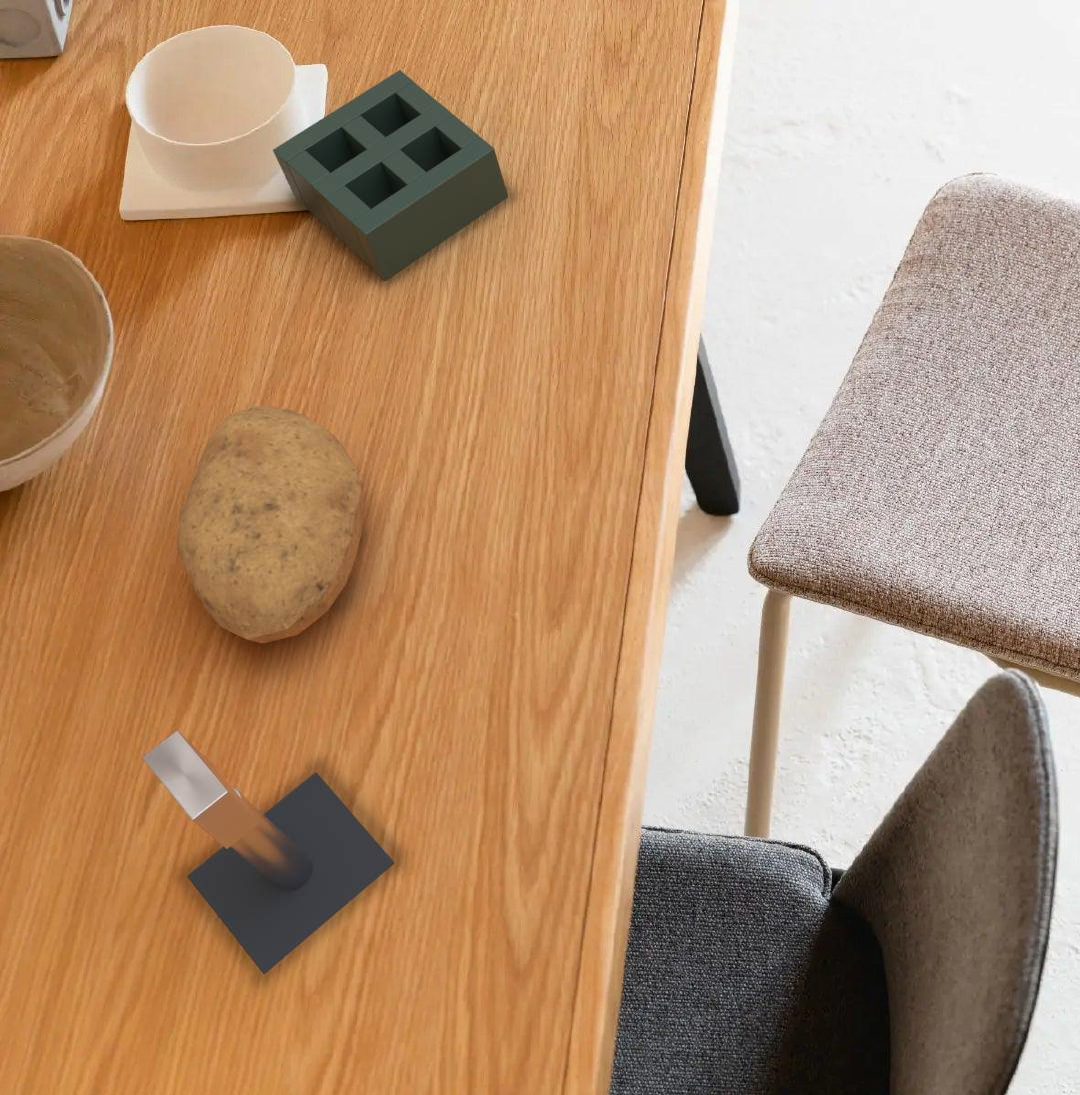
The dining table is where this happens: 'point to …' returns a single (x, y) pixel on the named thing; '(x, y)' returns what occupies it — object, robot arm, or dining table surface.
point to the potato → (271, 523)
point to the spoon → (227, 812)
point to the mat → (293, 915)
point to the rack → (392, 174)
